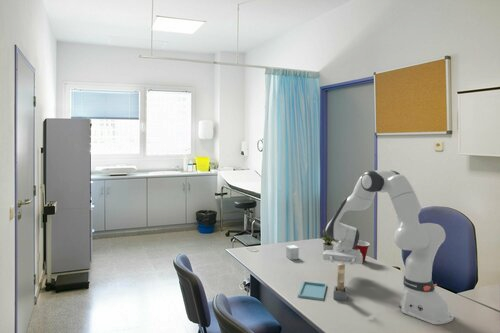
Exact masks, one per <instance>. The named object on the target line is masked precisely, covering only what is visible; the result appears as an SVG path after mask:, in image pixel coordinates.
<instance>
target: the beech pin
mask: <svg viewBox="0 0 500 333" xmlns="http://www.w3.org/2000/svg"><path fill="white" fill-rule="evenodd" d="M345 268H346V266H345V264H344V263H338V264H337V277H336V278H337V280H336V281H337V285H336V286H337V291H344V287H345Z"/></svg>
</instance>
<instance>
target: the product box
mask: <svg viewBox="0 0 500 333" xmlns="http://www.w3.org/2000/svg"><path fill="white" fill-rule="evenodd" d="M285 249H286V250H285V252H286V253H285V257H286V258H287V259H288V260H298V259H299V256H300V255H299V254H300V251H299V249H300V248H299V246H297V245H295V244H293V245H291V244H290V245H286V247H285Z"/></svg>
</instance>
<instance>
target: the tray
mask: <svg viewBox="0 0 500 333" xmlns="http://www.w3.org/2000/svg"><path fill="white" fill-rule="evenodd" d="M327 286H328V284H327V283H322V282H312V281H305V280H303V282H302V283H301V287H300V289H299V292H298V294H297V298H301V299H302V298H304V299H309V300H317V301H324V299H325V294H326V291H327V288H328V287H327Z"/></svg>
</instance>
